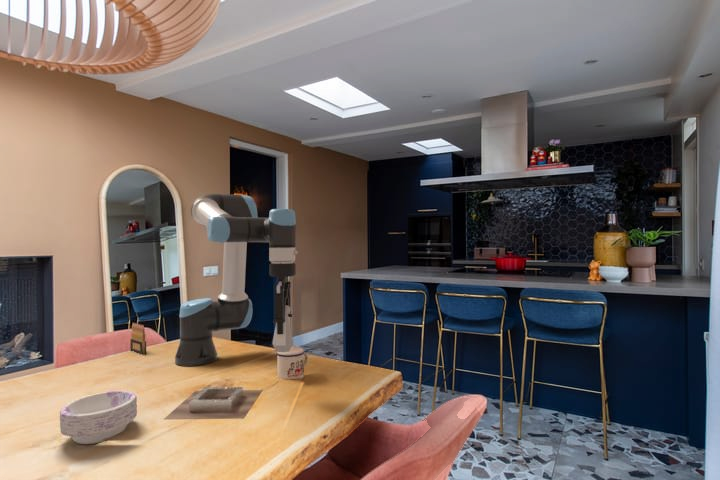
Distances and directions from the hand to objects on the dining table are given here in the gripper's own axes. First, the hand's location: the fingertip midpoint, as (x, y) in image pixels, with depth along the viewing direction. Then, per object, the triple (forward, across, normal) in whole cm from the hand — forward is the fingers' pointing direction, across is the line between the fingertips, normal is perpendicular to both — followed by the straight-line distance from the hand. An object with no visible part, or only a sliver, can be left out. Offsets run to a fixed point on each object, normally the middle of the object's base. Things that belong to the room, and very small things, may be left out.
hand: (282, 342), depth 118 cm
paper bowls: (+16, -22, +39) cm, 48 cm away
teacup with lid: (+16, +19, 0) cm, 25 cm away
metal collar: (+15, -6, +17) cm, 23 cm away
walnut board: (+16, -6, +17) cm, 24 cm away
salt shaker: (+3, 0, 0) cm, 3 cm away
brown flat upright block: (+17, +54, +71) cm, 90 cm away
